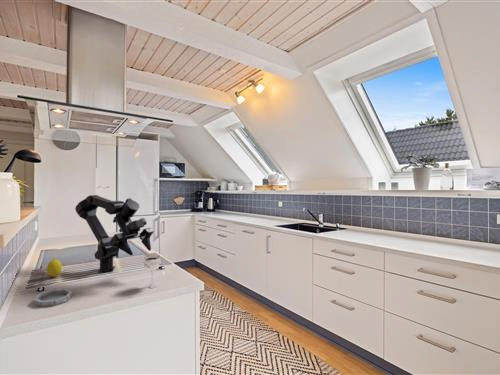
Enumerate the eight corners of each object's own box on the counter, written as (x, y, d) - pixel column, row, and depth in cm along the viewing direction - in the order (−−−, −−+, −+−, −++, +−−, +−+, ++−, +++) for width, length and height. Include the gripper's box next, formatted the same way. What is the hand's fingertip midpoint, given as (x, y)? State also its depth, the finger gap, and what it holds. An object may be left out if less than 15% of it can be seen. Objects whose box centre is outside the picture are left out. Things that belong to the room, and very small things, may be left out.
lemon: (51, 274, 128) (51, 257, 127) (64, 274, 128) (64, 257, 128) (43, 279, 122) (43, 261, 122) (57, 279, 123) (57, 261, 122)
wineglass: (140, 288, 116) (141, 259, 115) (147, 282, 122) (147, 254, 122) (157, 289, 115) (157, 260, 115) (163, 282, 122) (163, 255, 122)
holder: (42, 295, 107) (42, 290, 107) (75, 292, 110) (75, 287, 110) (28, 308, 97) (28, 303, 97) (65, 305, 100) (65, 300, 100)
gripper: (113, 215, 116) (130, 245, 111) (151, 210, 132) (167, 237, 127) (102, 231, 121) (118, 261, 115) (140, 225, 136) (155, 251, 131)
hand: (141, 252), depth 122 cm, fingers open, 9 cm apart
